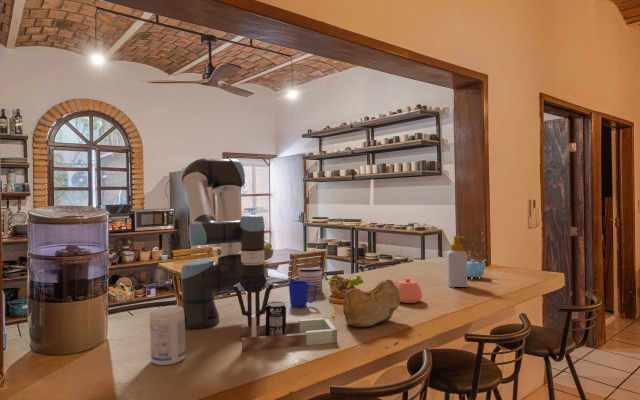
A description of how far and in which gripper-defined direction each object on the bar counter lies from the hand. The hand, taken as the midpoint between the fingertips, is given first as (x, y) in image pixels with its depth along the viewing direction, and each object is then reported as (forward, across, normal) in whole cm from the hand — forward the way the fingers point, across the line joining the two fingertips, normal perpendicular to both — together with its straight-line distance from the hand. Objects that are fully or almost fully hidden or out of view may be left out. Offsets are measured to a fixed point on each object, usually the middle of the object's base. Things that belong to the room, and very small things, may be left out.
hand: (253, 336), depth 137 cm
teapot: (+2, +123, +74) cm, 144 cm away
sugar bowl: (+2, +68, +36) cm, 77 cm away
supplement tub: (+3, -25, -8) cm, 27 cm away
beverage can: (+2, +7, 0) cm, 7 cm away
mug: (+2, +23, +40) cm, 46 cm away
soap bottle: (+2, +104, +57) cm, 119 cm away
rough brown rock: (+2, +43, +14) cm, 45 cm away
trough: (+2, +6, 0) cm, 6 cm away
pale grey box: (+2, +21, 0) cm, 21 cm away
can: (+2, +30, +64) cm, 71 cm away
